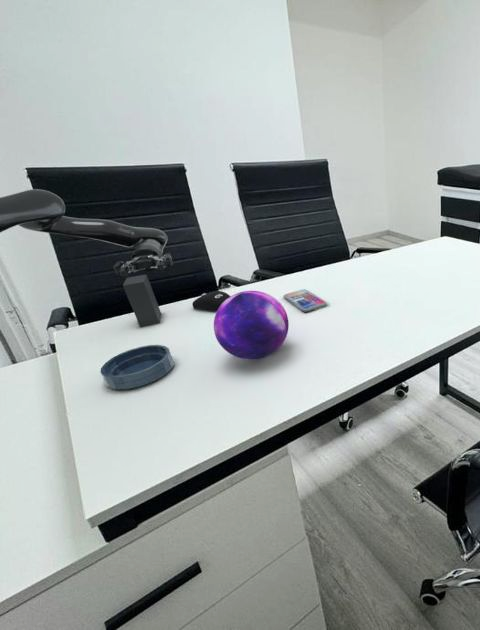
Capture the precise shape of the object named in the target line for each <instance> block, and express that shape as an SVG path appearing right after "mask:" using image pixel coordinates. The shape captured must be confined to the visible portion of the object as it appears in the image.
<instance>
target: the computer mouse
mask: <svg viewBox="0 0 480 630" xmlns="http://www.w3.org/2000/svg"><path fill="white" fill-rule="evenodd" d="M231 296H232V295H230V294H228V293H227V292H225V291H222V290H213V291H210V292H207V293H206V292H204V293H201V295H200V296H199V297H197V298H196V299H194V301H192V303H191V304H192V308H193V309H195V310H198V311H199V310H200V311H206V312H217V310H218V308H219V307H220V306H221V304H222V303H223V302H224V301H225V300H226V299H228V298H229V297H231Z"/></svg>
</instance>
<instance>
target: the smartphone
mask: <svg viewBox="0 0 480 630" xmlns="http://www.w3.org/2000/svg"><path fill="white" fill-rule="evenodd" d="M283 299H285V300H286V301H288V302H289V303H290V304H292V305H294V306H295V307H296V308H298V309H299V310H301V311H302V312H306V313H307V312H310V311H313V310H317V309H320V308H322V307H326V306H327V304H328V303H327V301H325V300H323V299H322V298H320V297H319V296H317V295H316V294H314V293H313V292H310V291H309V290H307V289H304V288H303V289H298V290H295V291H291V292H289V293H285V294H284V295H283Z"/></svg>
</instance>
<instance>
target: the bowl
mask: <svg viewBox="0 0 480 630" xmlns="http://www.w3.org/2000/svg"><path fill="white" fill-rule="evenodd" d="M174 366H175V361H174V358H173V355H172V353H171V350H170V348H169V347H168V346H166V345H163V344H149V345H143V346H138V347H134V348H131V349H129V350H125V351H123V352H121V353H119V354H116V356H113V357H111V358H110V359H109V360H107V361H106V362H105V363H104V364H103V365H102V366H101V368H100V375H101V376H102V379H103V381H104V383H105V384H106V386H107V387H108V388H109V389H112V390H130V389H135V388H139V387H143V386H145V385H148V384H150V383H153V382H156V381H157V380H158V379H160V378H163V376H165V375H166V374H168V373H169V372H170V371H171V370H172V368H173V367H174Z"/></svg>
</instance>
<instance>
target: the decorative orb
mask: <svg viewBox="0 0 480 630" xmlns="http://www.w3.org/2000/svg"><path fill="white" fill-rule="evenodd" d="M230 296H231V297H229V298H228V299H226V300H225V301H224V302H223V303H222V304H221V306H220V307H219V308H218V310H217V311H215V316H214V318H213V332H214V336H215V338H216V340H217V342H218V344H219V345H220V346H221V348H222V349H223V350H224V351H225V352H227V353H228V354H230V355H232V356H233V357H236V358H239V359H241V360H259V359H262V358H266V357H268V356H270V355H272V354H273V353H275V352H276V351H277V350H278V349H279V348H280V347H281V346H282V345H283V344H284V342H285V340H286V338H287V337H288V333H289V323H290V321H289V316H288V313H287V311H286V309H285V307H284V306H283V304H282V303H281V302H280V301H279V300H278V299H277V298H276V297H274V296H272V295H271V294H269V293H267V292H263V291H261V290H260V291H259V290H243V291H240V292H236V293H234V294H232V295H230Z"/></svg>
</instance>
